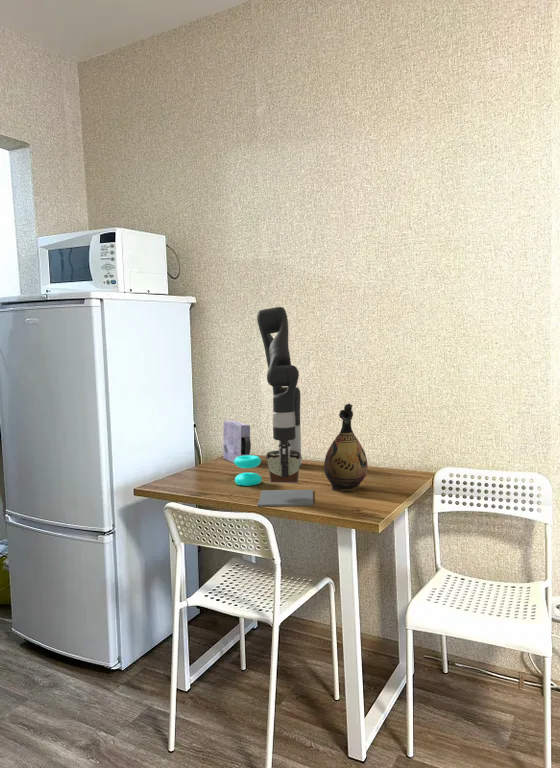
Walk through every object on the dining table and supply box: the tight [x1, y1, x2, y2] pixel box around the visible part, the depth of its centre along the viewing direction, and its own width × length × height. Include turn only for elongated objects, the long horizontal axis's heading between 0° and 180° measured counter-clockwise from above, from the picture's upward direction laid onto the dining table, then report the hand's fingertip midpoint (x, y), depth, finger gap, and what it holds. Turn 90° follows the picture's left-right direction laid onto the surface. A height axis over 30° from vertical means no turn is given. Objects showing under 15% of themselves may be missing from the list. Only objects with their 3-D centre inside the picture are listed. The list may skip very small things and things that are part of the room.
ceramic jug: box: [323, 403, 369, 493], centre depth 216 cm, size 17×15×30 cm
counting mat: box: [257, 489, 314, 507], centre depth 205 cm, size 18×18×1 cm
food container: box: [264, 449, 303, 484], centre depth 205 cm, size 12×6×10 cm, turn 80°
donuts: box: [233, 454, 263, 487], centre depth 227 cm, size 10×10×10 cm
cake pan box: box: [222, 419, 252, 464], centre depth 266 cm, size 19×5×18 cm, turn 30°
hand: (285, 474), depth 204 cm, fingers closed on food container, 5 cm apart
